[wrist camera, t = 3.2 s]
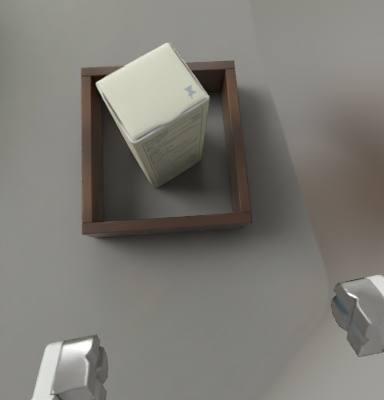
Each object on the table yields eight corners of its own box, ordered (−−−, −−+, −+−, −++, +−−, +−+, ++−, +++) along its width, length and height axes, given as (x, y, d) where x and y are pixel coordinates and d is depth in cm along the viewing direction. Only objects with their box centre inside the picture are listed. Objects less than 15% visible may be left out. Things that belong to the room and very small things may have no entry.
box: (177, 122, 28) (174, 36, 18) (203, 161, 28) (216, 96, 17) (127, 151, 28) (91, 80, 17) (152, 191, 27) (131, 144, 16)
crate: (243, 227, 27) (252, 222, 23) (94, 237, 26) (81, 234, 23) (227, 83, 29) (234, 60, 26) (92, 90, 29) (80, 67, 25)
